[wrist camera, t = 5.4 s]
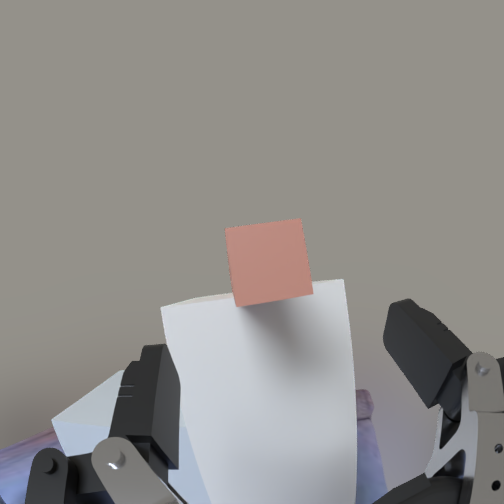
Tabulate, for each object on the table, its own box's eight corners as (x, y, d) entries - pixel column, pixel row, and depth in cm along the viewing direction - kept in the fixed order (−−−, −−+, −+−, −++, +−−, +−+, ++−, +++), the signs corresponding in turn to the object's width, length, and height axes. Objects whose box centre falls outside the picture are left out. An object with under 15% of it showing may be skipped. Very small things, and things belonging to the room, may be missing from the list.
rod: (313, 294, 11) (300, 218, 11) (236, 307, 10) (224, 228, 11) (254, 289, 38) (251, 267, 39) (232, 292, 38) (229, 271, 38)
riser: (352, 534, 17) (343, 278, 21) (126, 551, 15) (25, 318, 19) (312, 461, 37) (290, 283, 41) (154, 478, 35) (107, 307, 38)
